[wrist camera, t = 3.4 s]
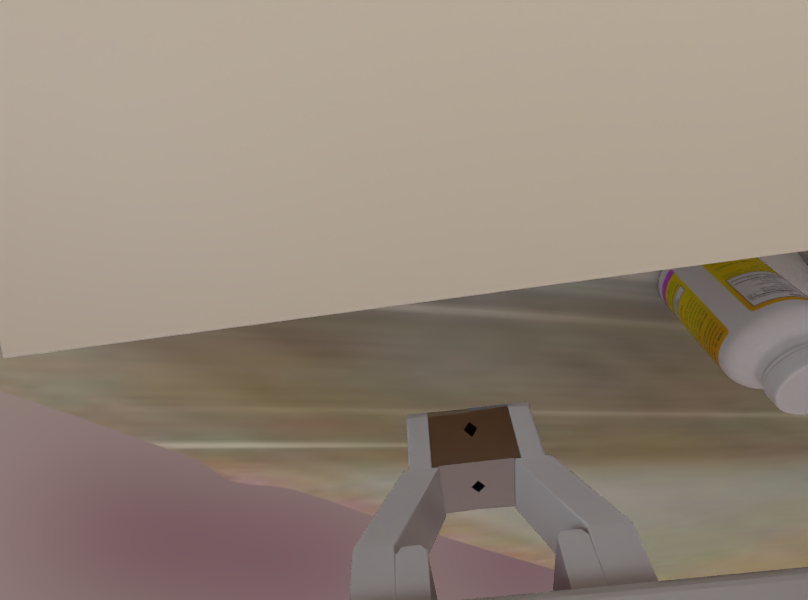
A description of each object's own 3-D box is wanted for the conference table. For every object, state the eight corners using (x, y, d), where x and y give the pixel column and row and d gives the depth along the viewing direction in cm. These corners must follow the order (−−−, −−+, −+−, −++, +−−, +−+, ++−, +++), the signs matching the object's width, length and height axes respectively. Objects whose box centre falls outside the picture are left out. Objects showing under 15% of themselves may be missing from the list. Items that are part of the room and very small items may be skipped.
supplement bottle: (686, 318, 41) (792, 441, 30) (637, 279, 39) (733, 399, 28) (759, 262, 38) (904, 377, 28) (711, 217, 36) (850, 324, 25)
